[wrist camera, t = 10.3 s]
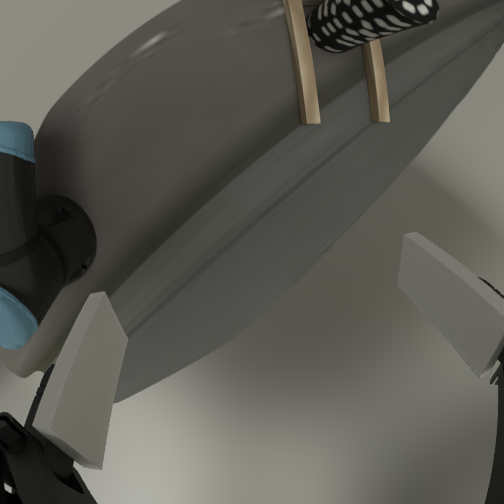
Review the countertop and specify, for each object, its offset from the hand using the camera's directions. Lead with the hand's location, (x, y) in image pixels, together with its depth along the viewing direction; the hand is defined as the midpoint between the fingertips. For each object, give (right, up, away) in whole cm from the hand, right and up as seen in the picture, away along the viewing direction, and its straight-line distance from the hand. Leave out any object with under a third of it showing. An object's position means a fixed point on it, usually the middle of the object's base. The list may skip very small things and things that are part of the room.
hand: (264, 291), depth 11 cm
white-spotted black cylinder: (+11, +35, +20) cm, 42 cm away
